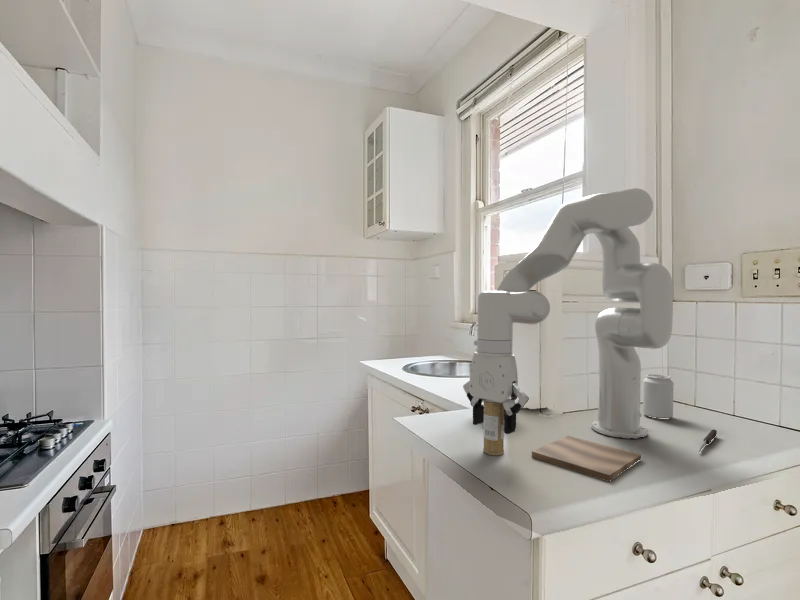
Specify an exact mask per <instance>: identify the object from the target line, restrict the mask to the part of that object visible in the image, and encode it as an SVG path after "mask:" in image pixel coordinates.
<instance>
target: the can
mask: <svg viewBox="0 0 800 600" xmlns="http://www.w3.org/2000/svg"><path fill="white" fill-rule="evenodd" d="M671 378H672V377H671V376H670V375H666V374H665V375H664V374H654V373H649V374H645V378H643V380H642V384H643V385H642V386H643V387H642V388H643V389H642V413H643V414H644V415H645V416H646V415H647V416H651V417H656V418H670V419H671V418H673V417H674V387H675V386H674V381H672V380H671ZM647 416H646V417H647Z"/></svg>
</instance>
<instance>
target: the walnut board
mask: <svg viewBox="0 0 800 600" xmlns="http://www.w3.org/2000/svg"><path fill="white" fill-rule="evenodd" d="M531 458H534V459H537V460H540V461H544V462H546V463H550V464H552V465H556V466H560V467H562V468H565V469H568V470H572V471H575V472H578V473H582V474H583V475H587V476H590V477H594V478H596V477H597V479H600V478H601V479H600V480H603V479H604V481H606V480H608V481H607V482H609V481H610V480H611V481H612V479H613V478H614V477H616V476H617V475H618V474H620V473H621V472H623V471H624V470H626V469H627V468H629V467H630V466H631V465H633V464H634V463H635V462H637V461H638V460H640V459H641V460H642V454H641V453H637V452H633V451H628V450H624V449H620V448H619V447H613V446H610V445H609V446H608V445H606V444H602V443H598V442H594V441H589V440H587V439H582V438H578V437H574V436H572V435H571V436H570V435H566V436H564V437H561V438H560V439H557V440H555V441H553V442H550V443H548V444H546V445H543V446H541V447H539V448H536V449H534V450H532V451H531ZM633 466H634V465H633ZM629 469H630V468H629ZM626 471H627V470H626ZM623 473H624V472H623ZM620 475H621V474H620ZM617 477H618V476H617ZM617 477H616V478H617ZM614 479H615V478H614ZM614 479H613V480H614ZM611 481H610V482H611Z"/></svg>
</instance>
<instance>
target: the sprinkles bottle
mask: <svg viewBox="0 0 800 600" xmlns="http://www.w3.org/2000/svg"><path fill="white" fill-rule="evenodd" d="M483 405H484V422H483V449H482V451H483V452H484V453H485V454H487V455H490V456H501V455H504V454H505V448H504V444H505V443H504V440H505V439H504V438H505V433H504V405H503V403H497V402H492V401H488V400H484V403H483Z"/></svg>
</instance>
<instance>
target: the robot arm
mask: <svg viewBox="0 0 800 600" xmlns="http://www.w3.org/2000/svg"><path fill="white" fill-rule="evenodd" d="M653 209H654V202H653V199H652V197H651V195H650V194H649V193H648V191H646V190H645V189H642V188H638V187H637V188H636V187H635V188H629V189H624V190H616V191H609V192H602V193H597V194H596V193H595V194H592V195H591V194H590V195H588V196H584V197H580V198H577V199H573V200H569V201H567V202H564V203H563V204H561V205H560V207H558V209H557V211H556V212H555V214H554V216H553V217H552V219H551V221H550V222H549V224H548V225H547V226H546V227H547V228H546V229H545V231H544V233H542V236H541V237H540V239H539V241H538V243H537V244H536V246H535V248H534V249H532V251H530V252H529V253H528V254H526V256H525V257H524V256H523V258H522V259H521V260H520V261H519V262H517V264H516V265H514V266H513V267H512V268H511V269H510V270H509V271H508V272H507V273H506V275H505V276H504V277H503V279H502V281H501V282H500V284H499V286H498V287H497V289H496V290H485V291H481V292H480V293H479V294H478V297H477V330H476V331H477V333H476V334H477V336H476V338H477V339H476V340H474V341H473V345H474V346H475V347H476V351H475V352H473V356H472V360H471V365H470V371H469V372H470V373H469V381H467V382H466V383H465V384H463V386H462V389H463V391H464V393H465V394H466V397H467V399H468V400H469V402H470V403H469V404H470V406H471V407H472V424H473V425H474V426H477V425H480V424H484V404H483V400H488V401H492V402H497V403H503V405H504V408H505V410H506V412H507V414H506V415H505V416H504V435H508V434H509V435H510V434H512V433H515V432H516V428H517V414H518V413H520V411H522V409H524V408H523V407H524V405H525V404H526V403H527V402H528V400H529V397H528V396H527V395H526V394H525V393H524V392H523V391H522V390H521V389H520V388H519V387H518V382H519V377H518V375H519V374H518V365H517V359H516V356H515V354H513V337H514V336H513V331H514V328H513V326H514V325H513V324H520V325H529V326H530V325H537V324H540V323H541V322H543V321H544V320H546V319H547V318H548V317H549V315H550V311H551V304H550V301H549V299H548V298H547V297H546V296H545V295H544V294H543V293H541V292H539V291H536V290H531V289H532V288H533V287H535V285H536V284H538V283H540V282H541V281H543V280H545V279H548V278H549V277H551V276H553V275H556V274H559V273H560V272H562V271H563V270H565V269H566V268H567V267H569V265H570V264H571V262H572V260H573V258H574V257H575V254H576V253H577V251H578V249H579V247H580V245H581V244H582V241H583V240H584V238H585V237H586V236H587V235H591V234H594V235H595V237H596V238H597V240H598V241H599V243H600V247H601V251H602V252H601V253H602V278H601V279H602V281H601V282H602V292H603V293H602V294H603V296H604V297H605V298H606V299H607V300H609V301H612V302H616V303H639V307H638V308H637V307H610V308H606V309H604V310H602V311H601V312H599V313H598V315H597V316H596V319H595V323H594V329H595V335H596V339H597V346H598V397H597V398H598V403H597V404H598V408H597V409H598V411H597V420H594V421H592V423H591V428H592V430H593V431H595V432H596V433H599V434H602V435H605V436H608V437H614V438H619V437H622V438H621V439H630V438H634V439H639V438H638V437H643V438H645V437H646V436H647V435H648V430H647V429H646V428H645V427H644V426H641V417H642V412H641V373H642V364H641V360H640V357H639V354H638V353H637V351H636V349H635V348H642V349H650V350H651V349H652V350H654V349H661V348H664V346H666V345H667V344H668V343H669V342H670V339H671V337H672V332H673V313H674V312H673V311H674V308H673V305H674V304H673V303H674V284H673V279H672V278H673V277H672V276H671V273H670V271H669V270H668V269H667V268H666V267H665V266H664V265H663V264H661V263H657V262H646V263H645V262H644V263H641V248H640V247H641V246H640V242H639V240H638V238H637V236H636V234H635V233H634V232H633V231H632V230H631V229H630V227H635V226H640V225H642V224H644V223H646V222H647V221H648V220H649V219H650V217H651V215H652V213H653V211H654V210H653ZM517 397H518V398H519V400H518V402H517V403H515V400H516V399H517ZM644 436H645V437H644Z"/></svg>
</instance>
